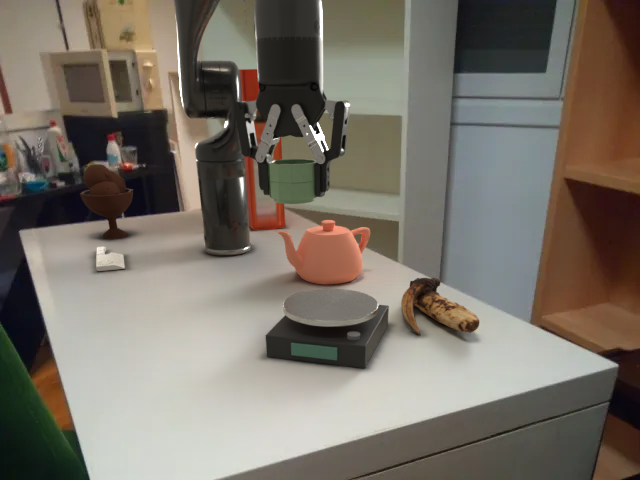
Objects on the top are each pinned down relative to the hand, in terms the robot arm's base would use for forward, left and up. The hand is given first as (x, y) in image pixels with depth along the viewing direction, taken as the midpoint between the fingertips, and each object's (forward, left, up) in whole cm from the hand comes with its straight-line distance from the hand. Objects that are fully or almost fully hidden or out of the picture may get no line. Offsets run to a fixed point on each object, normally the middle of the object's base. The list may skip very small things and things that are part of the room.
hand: (294, 194), depth 74 cm
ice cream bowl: (-43, -58, -19) cm, 74 cm away
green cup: (0, 0, -1) cm, 1 cm away
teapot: (-26, -4, -19) cm, 32 cm away
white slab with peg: (-25, -47, -18) cm, 57 cm away
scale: (+2, +5, -18) cm, 19 cm away
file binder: (-65, -31, -19) cm, 75 cm away
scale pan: (+2, +5, -14) cm, 15 cm away
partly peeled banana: (-9, +17, -19) cm, 27 cm away
